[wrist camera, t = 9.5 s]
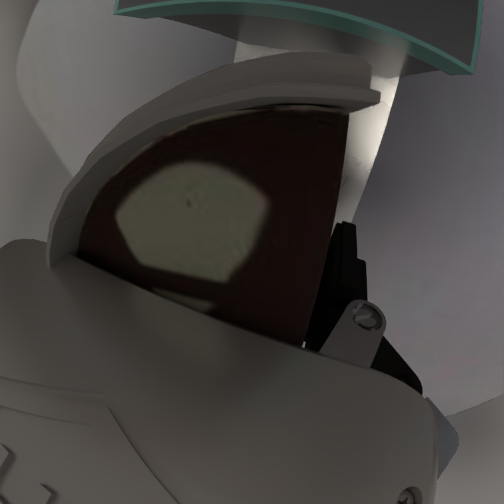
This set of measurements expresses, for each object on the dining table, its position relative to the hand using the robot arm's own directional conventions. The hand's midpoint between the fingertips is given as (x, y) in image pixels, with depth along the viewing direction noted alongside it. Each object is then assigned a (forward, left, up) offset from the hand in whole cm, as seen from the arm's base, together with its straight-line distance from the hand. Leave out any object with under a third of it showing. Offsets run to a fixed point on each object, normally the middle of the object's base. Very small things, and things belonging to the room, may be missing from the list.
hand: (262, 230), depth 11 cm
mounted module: (0, -10, -4) cm, 11 cm away
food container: (+1, 0, -3) cm, 3 cm away
